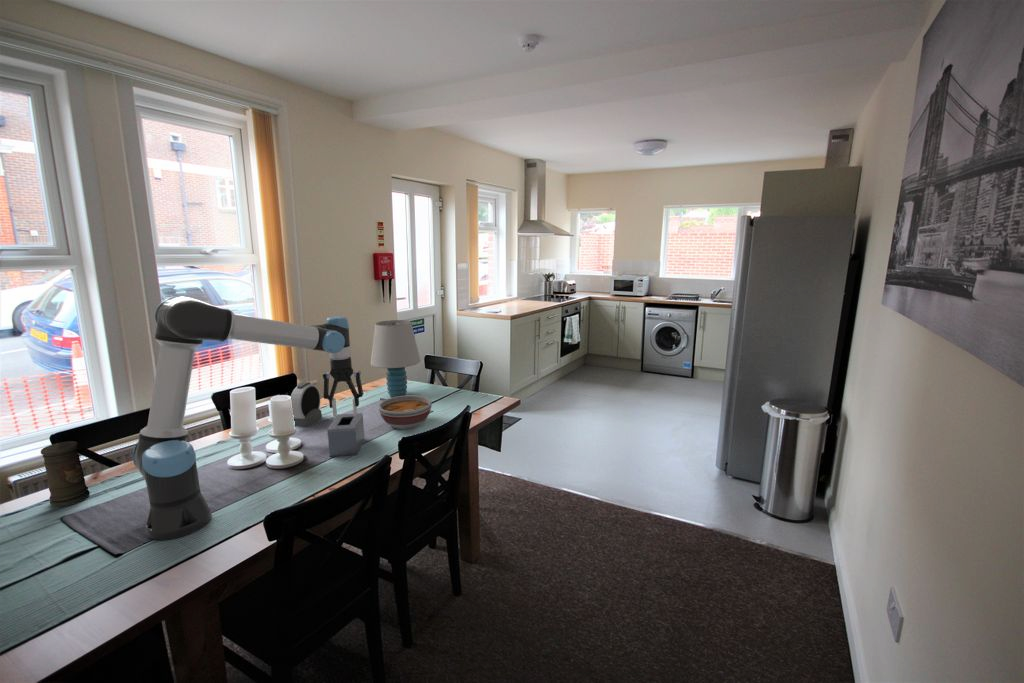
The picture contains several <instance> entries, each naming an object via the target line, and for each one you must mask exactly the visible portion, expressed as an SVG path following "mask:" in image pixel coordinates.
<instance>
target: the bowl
mask: <svg viewBox="0 0 1024 683" xmlns="http://www.w3.org/2000/svg"><path fill="white" fill-rule="evenodd" d="M431 410H432V400H431V399H430V398H428V397H426V396H422V395H413V394H412V395H411V394H410V395H408V394H406V395H405V396H398V397H393V398H392V397H390V398H386V399H385V400H382V401H381V402H380V403H379V404H378V411H379V414H380V416H381V418H382V419H383V421H384V422H385V423H386V424H387V425H388V426H390V427H392V428H394V429H397V430H408V429H413V428H416V427H419V426H420V425H421V424H423V423H425V421H426V420H427V418H428V417H429V416H430V413H431Z"/></svg>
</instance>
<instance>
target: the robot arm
mask: <svg viewBox="0 0 1024 683" xmlns="http://www.w3.org/2000/svg"><path fill="white" fill-rule="evenodd" d="M154 320H155V323H156V328H155V334H154V340H155V341H156V342H157V343H158V345H159V350H158V357H157V364H156V370H155V376H154V384H153V388H152V394H151V395H152V396H151V402H150V408H149V414H148V419H147V420H148V421H147V425H146V426H144V428H141V429H140V431H139V435H138V441H137V442H136V444H135V445H134V447H133V449H132V450H133V451H132V462H133V464H134V466H135V467H136V468H137V469H138V471H139V472H140V475H141V476H142V477H143V478H144V480H145V485H146V490H147V494H148V500H149V506H150V508H149V510H148V511H149V512H148V515H147V516H148V517H147V521H146V524H145V531H146V536H147V537H148V538H149V539H151V540H154V541H166V540H173V539H178V538H181V537H184V536H187V535H190V534H192V533H194V532H197V531H198V530H200V529H202V528H203V527H204V526H206V525H207V524H208V523H209V522H210V521H211V519H212V515H213V514H212V510H211V507H210V505H209V503H208V502H207V500H206V499H205V497H204V495H203V494H202V491H201V485H200V480H199V473H198V467H197V454H196V451H195V450H194V446H193V445H192V444H191V443H190V442H188V441H187V440H188V433H189V431H188V430H187V429H186V428H185V426H184V421H185V415H186V409H187V408H186V407H187V402H188V398H189V397H188V396H189V389H190V386H191V385H190V384H191V378H192V372H193V365H194V359H195V352H196V349H197V348H199V347H200V346H202V345H203V342H204V341H215V342H223V343H224V342H226V341H228V340H235V341H243V342H250V343H259V344H265V345H266V344H267V345H275V346H283V347H289V348H290V347H291V348H297V349H307V350H313V351H321V352H326V353H327V354H329V358H330V360H329V363H330V371H329V372H324V373H323V374H322V378H323V400H328V404H329V408H331V409H332V417H333V418H335V417H336V415H337V413H338V412H337V402H336V397H335V393H336V389H337V386H338V383H340V382H344V383H346V384H347V385H348V388H349V390H350V392H351V394H352V396H353V398H352V409H353V410H352V411H353V412H352V413H353V414H354V416H355V415H356V414H357V413H358V408H357V407H359V406H360V399H359V398H362V397H363V396H364V390H363V384H362V379H361V373H362V372H361V371H360V370H358V371H355V370H354V369H353V365H352V357H351V356H352V352H351V351H352V350H351V342H350V339H351V338H350V327H349V321H348V318H347V317H346V316H342V315H341V316H339V315H338V316H329V317H327V318H326V322H325V323H323V324H315V325H304V324H300V323H299V324H298V323H291V322H286V321H280V320H274V319H269V318H262V317H257V316H251V315H245V314H240V313H234V311H233V310H232V309H230V308H223V307H219V306H216V305H213V304H211V303H207V302H205V301H201V300H199V299H195V298H193V297H190V296H189V297H188V296H184V295H183V296H182V295H177V296H176V295H175V296H171V297H168V298H166V299H164V300H163V301H161V302H160V303H159V304H158V305H157V307H156V309H155V312H154ZM352 375H353V376H354V377H355V383H356V386H357V387H355V384H354V382H353V380H352ZM330 377H332V378H333V379H334V380H333V382H332V386H331V391H329V390H330V389H329V388H330V386H329V384H330ZM329 392H330V393H329Z"/></svg>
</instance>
